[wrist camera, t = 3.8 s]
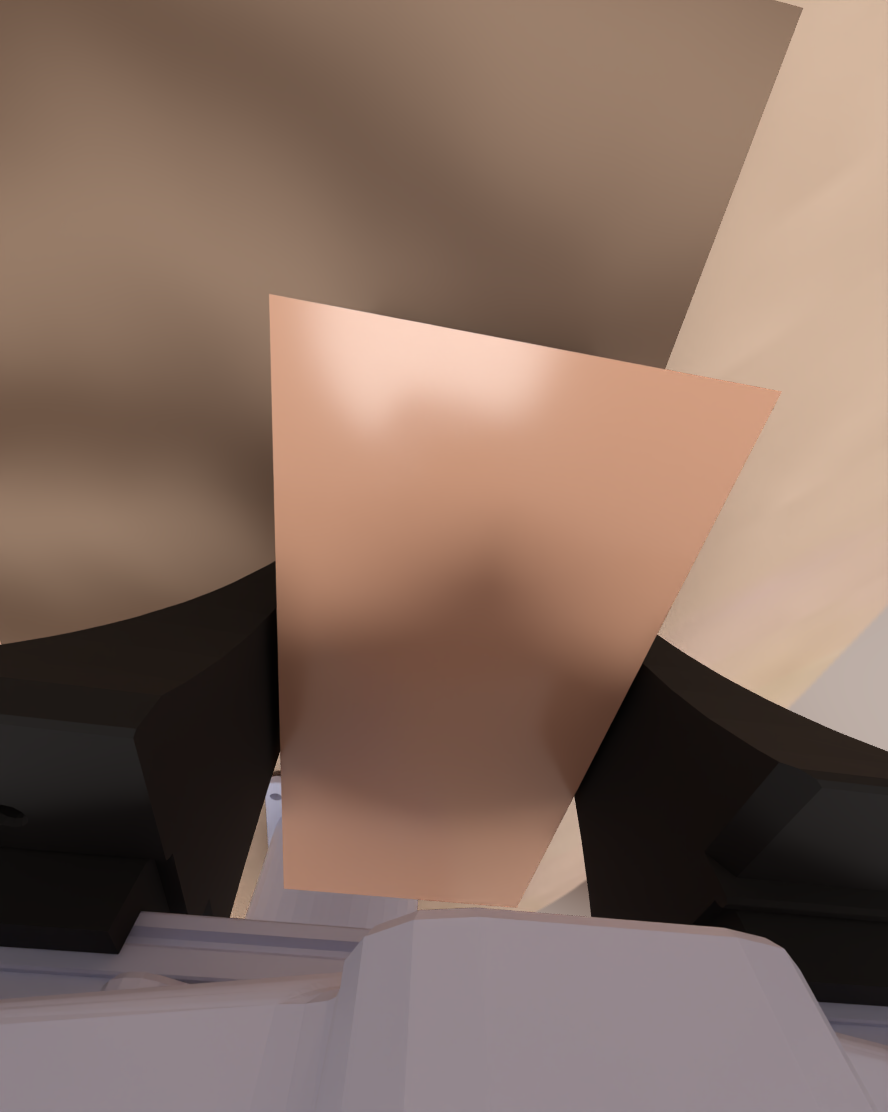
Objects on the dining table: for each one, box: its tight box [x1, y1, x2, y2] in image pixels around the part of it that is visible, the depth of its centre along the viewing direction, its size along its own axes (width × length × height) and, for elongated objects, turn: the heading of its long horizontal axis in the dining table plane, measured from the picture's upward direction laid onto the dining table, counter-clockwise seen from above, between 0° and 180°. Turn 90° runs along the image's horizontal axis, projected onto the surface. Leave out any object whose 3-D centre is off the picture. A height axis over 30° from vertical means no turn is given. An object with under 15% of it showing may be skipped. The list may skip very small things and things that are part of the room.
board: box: [0, 0, 803, 644], centre depth 11 cm, size 21×19×4 cm
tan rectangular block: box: [269, 294, 781, 908], centre depth 10 cm, size 12×6×6 cm, turn 171°
